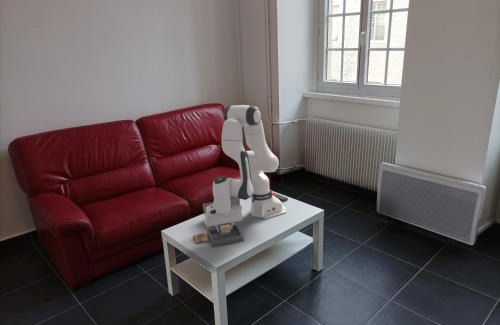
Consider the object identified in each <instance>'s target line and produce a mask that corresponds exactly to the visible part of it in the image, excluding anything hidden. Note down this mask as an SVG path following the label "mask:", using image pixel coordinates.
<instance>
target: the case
mask: <svg viewBox="0 0 500 325" xmlns="http://www.w3.org/2000/svg"><path fill="white" fill-rule="evenodd" d="M230 232H231V238H226V239H221V237H220V235H219V232H218V231H217V228H216V227H215V228H210V229H206V234H207V236H208V239H209V242H210V245H211V247H212V248H216V247H220V246H226V245H231V244H235V243H240V242H244V241H245V239H244V238H245V237H244V234H243V233H242V231H241V229H240V228H239V225H238V224H233V226H232V229H231V230H230Z"/></svg>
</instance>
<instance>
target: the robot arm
mask: <svg viewBox="0 0 500 325" xmlns="http://www.w3.org/2000/svg"><path fill="white" fill-rule="evenodd" d="M222 115H223V121H224V122H223V125H222V129H221V130H222V132H221V148H222V151H223V153H224V154H225V155H226V156H228V157H230V158H231V159H233V160H234V161H235V162H236V163H237V164H238V167H239V174H240V179H237V178H233V177H232V178H231V177H227V176H225V175H223V176H217V177H215V178H214V179H213V182H212V196H213V202H214V203H213V204H211V205H209V206H207V207H206V213H205V216H204V224H205V227H206V226H207V227H210V226H215V229H216V228H217V231H218V232H220V228H219V227H218V225H220V224H226V223H231V224H230V230H231V229H232V226H233V225H235V224H234V222H236V223H237V222H241V221H242V220H243V213H242V211H243V210H242V209H243V207H242V205H241V204H240V205H239V204H236V205H231V201H230V197H231V196H232V197H237V198H240V200H243V201H246V200H248V199H250V201H251V206H250V210H249V214H250V215H251V216H252V217H254V218H262V219H264V220H265V219H270V218H273V217H278V216H279V215H283V214H286V213H287V208H286V207H285V206H284V205H283V203H282V201H281V200H280V199H279V198H278V197H276V196H275V195H276V192H274V191H273V190H271V189H270V179H269V177H268V176H267V175H266V174H265V173H273V172H276V170H278V167H279V165H280V164H279V163H280V161H279V159H278V157H277V156H276V155H275V154H274V153H273V152H272V151H271V149H270V148H269V146H268V144H267V141H266V135H265V130H264V124H263V121H262V112H261V110H260V108H259V107H257V106H255V105H247V104H240V105H239V104H238V105H237V104H235V105H234V104H232V105H231V104H230V105H228V106H226V107H225V108H224V110H223V114H222ZM243 130H244V131H243ZM243 132H244V136H243ZM244 137H245V144H246V146H247V147H248V148H249V149H250V150H246V149H245V147H244V143H243V138H244Z"/></svg>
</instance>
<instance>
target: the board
mask: <svg viewBox="0 0 500 325" xmlns="http://www.w3.org/2000/svg"><path fill="white" fill-rule="evenodd" d="M193 239H194V241H195V244H196V245H198V244H199V245H200V244H205V243H209V242H210V240H209V237H208V235H207V231H206V232H200V233H196V234H193Z"/></svg>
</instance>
